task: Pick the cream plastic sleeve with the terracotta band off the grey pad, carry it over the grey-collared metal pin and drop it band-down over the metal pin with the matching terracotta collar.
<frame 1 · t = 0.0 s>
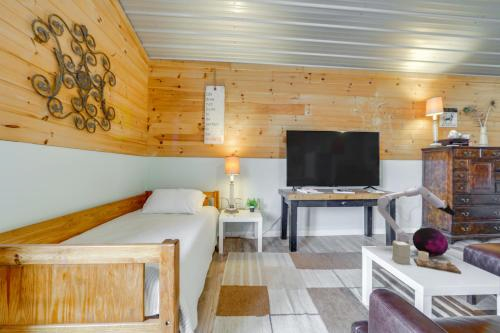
hand: (452, 213, 150), 32 cm above the table, tool tilted 50°, fingers open, 7 cm apart
supplement box: (400, 262, 146), on the table
sleeve: (423, 261, 143), point 2 cm above the table, touching pin board
pin board: (435, 266, 140), on the table
decorative sphere: (429, 255, 159), on the table
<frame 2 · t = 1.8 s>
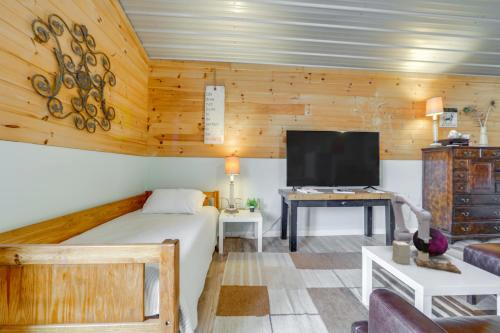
hand: (423, 250, 143), 9 cm above the table, tool pointing down, fingers open, 7 cm apart
nothing on the table moved.
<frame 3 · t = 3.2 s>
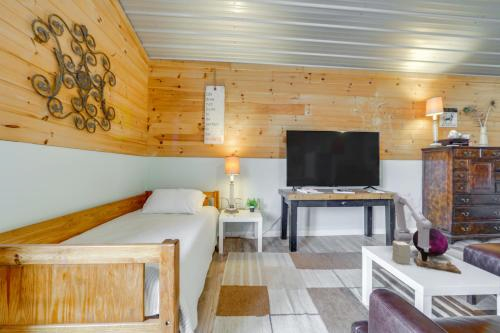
hand: (423, 259, 143), 3 cm above the table, tool pointing down, fingers closed on sleeve, 5 cm apart
sleeve: (423, 261, 143), point 2 cm above the table, touching gripper, pin board
everything else where it was.
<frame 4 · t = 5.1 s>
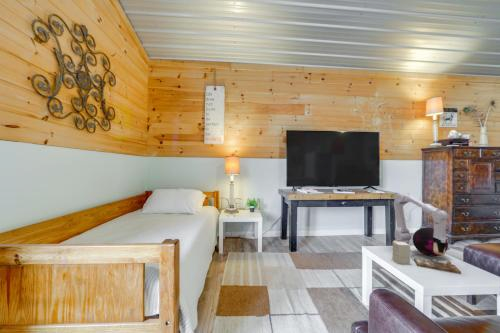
hand: (439, 251, 139), 10 cm above the table, tool pointing down, fingers closed on sleeve, 5 cm apart
sleeve: (439, 253, 139), point 9 cm above the table, touching gripper
everything else where it was.
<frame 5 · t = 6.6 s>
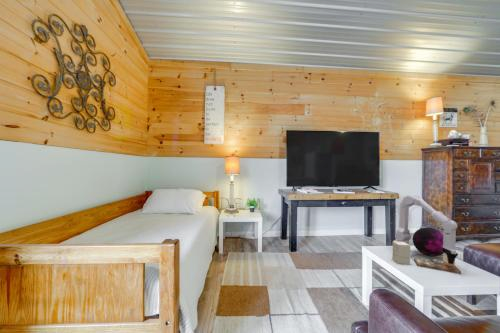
hand: (449, 261, 137), 4 cm above the table, tool pointing down, fingers closed on sleeve, 5 cm apart
sleeve: (448, 264, 137), point 3 cm above the table, touching gripper
everything else where it was.
when the fingers open (4 cm above the table, at t = 7.4 s): sleeve drops 1 cm, resting on pin board.
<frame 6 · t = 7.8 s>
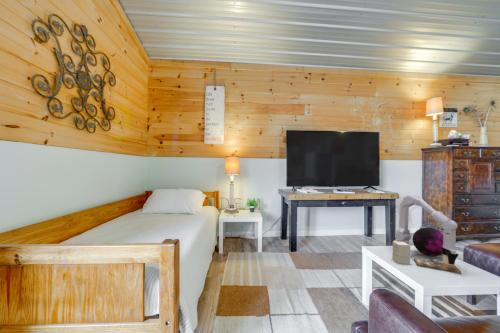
hand: (449, 261, 137), 4 cm above the table, tool pointing down, fingers open, 7 cm apart
sleeve: (448, 266, 137), point 2 cm above the table, touching pin board
everything else where it was.
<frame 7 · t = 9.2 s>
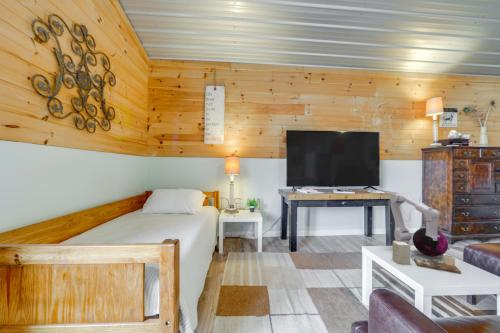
hand: (431, 248, 143), 10 cm above the table, tool pointing down, fingers open, 7 cm apart
nothing on the table moved.
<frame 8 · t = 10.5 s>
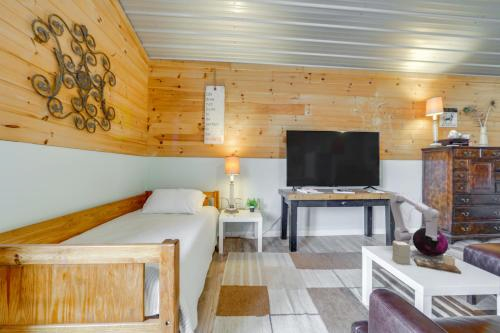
hand: (431, 248, 143), 10 cm above the table, tool pointing down, fingers open, 7 cm apart
nothing on the table moved.
at the end: sleeve 0.1 cm from the target spot on the pin board, point 1.8 cm above the pin board's base; sleeve tilted 0°; the gripper is holding nothing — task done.
